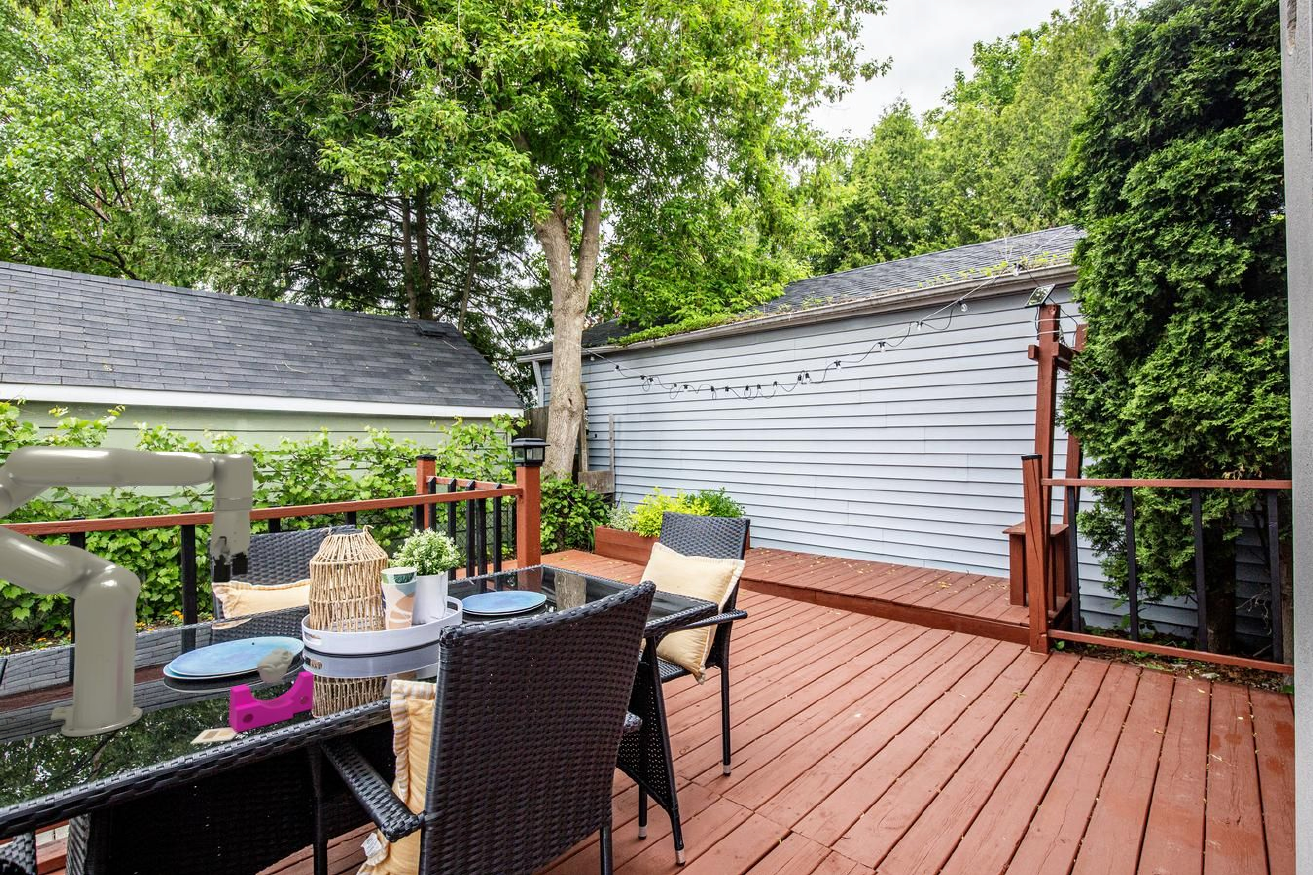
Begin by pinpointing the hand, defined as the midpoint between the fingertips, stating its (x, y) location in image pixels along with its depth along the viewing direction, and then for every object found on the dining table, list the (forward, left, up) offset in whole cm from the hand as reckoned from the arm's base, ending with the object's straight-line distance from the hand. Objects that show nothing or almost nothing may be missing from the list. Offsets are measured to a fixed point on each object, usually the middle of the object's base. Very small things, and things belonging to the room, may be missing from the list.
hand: (231, 578), depth 141 cm
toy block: (+14, -13, -28) cm, 34 cm away
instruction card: (+6, -20, -28) cm, 35 cm away
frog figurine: (+14, -13, -21) cm, 28 cm away
